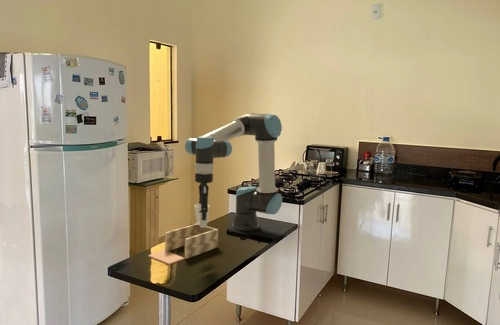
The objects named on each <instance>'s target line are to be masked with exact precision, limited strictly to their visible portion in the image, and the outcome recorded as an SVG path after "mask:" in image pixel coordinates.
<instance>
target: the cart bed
mask: <svg viewBox="0 0 500 325" xmlns="http://www.w3.org/2000/svg"><path fill="white" fill-rule="evenodd" d="M218 243H219V229H218V228H215V227H211V226H208V225H207V227H201V228H200V225H199V224H197V223H194V224H191V225H187V226H183V227H179V228H177V229H173V230H169V231H166V232H165V233H164V251H167V252H169V251H172V250H176V249H179V248H181V247H184V258H185V260H186V259H190V258H193V257H196V256H198V255H200V254H203V253H206V252H208V251H211V250H214V249H216V248H218V247H219V244H218Z"/></svg>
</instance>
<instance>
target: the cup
mask: <svg viewBox="0 0 500 325" xmlns="http://www.w3.org/2000/svg"><path fill="white" fill-rule="evenodd" d="M210 207H211V206H210V204H208V212H207V224H208V223H209V219H210V216H209V212H210ZM199 211H201V204H199V203H197V204H194V212H195V213H194V214H195V219H196V224H199V225H200V216H201V213H199Z"/></svg>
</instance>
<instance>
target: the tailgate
mask: <svg viewBox="0 0 500 325" xmlns="http://www.w3.org/2000/svg"><path fill="white" fill-rule="evenodd" d="M147 257H149V258H150V259H153V260H156V261H158V262H161V263H163V264H166V265H169V266H171V265H173V264H176V263H178V262H181V261H184V260H186V258H185V257H183V256H180V255H178V254H175V253H173V252H169V251H165V249H163V250H160V251H157V252H154V253H151V254H148V256H147Z"/></svg>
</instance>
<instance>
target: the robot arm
mask: <svg viewBox="0 0 500 325" xmlns="http://www.w3.org/2000/svg"><path fill="white" fill-rule="evenodd" d="M282 127H283V125H282V122H281V119H280V118H279V117H278V116H277V114H272V113H247V114H243V115H241V116H239V117H236V118H234V119H232V120H231V121H230V123H228V124H226V125H224V126H221V127H220V128H216V129H215V130H213V131H210V132H208V133H206V134H204V135H201V136H198V137H196V138H195V137H194V138H193V137H192V138H188V139H187V140H186V141H185V145H184V148H185V151H186V153H187V154H190V155H193V156H195V164H194V165H193V167H194V168H195V172H196V173H195V174H194V181H195V182H196V183H198V184H199V185H198V190H199V191H198V194H199V198H198V204H201V211H199V213H201V216H200V228H201V227H207V226H208V223H207V212H208V205H209V204H208V203H209V202H208V201H209V200H208V199H209V187H210V186H208V184H210V183H213V179H214V174H213V172H214V159H218V158H227V157H229V156H231V154H232V152H233V146H232V144H231V142H230V140H232V139H234V138H236V137H237V138H239V137H240V138H241V137H242V136H243V137H244V136H254V140H255V141H256V143H257V145H258V146H257V147H258V148H257V150H258V153H257V154H258V157H257V158H258V186H243V187H238V188H237V190H236V194H235V197H236V198H235V214H234V217H233V221H232V225H231V226H232V229H234V230H238V231H244V232H245V231H247V232H248V231H255V230H258V229H259V226H260V222H259V220H258V215H257V213H263V214H266V215H276V214H277V213H278V212H279V211H280V209H281V208H282V204H283V196H282V195H281V194H280V193H279V192H278V191H279V190H278V187H276V177H275V176H276V171H275V170H276V166H275V165H276V164H275V162H276V161H275V160H276V158H275V155H276V154H275V143H276V141H278V137H280V136H281V134H282V133H281V132H282V129H283V128H282Z"/></svg>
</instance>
